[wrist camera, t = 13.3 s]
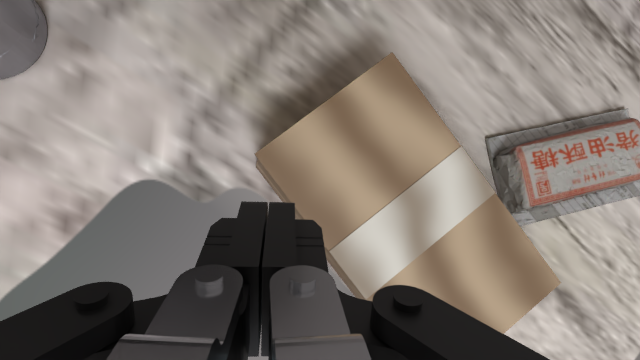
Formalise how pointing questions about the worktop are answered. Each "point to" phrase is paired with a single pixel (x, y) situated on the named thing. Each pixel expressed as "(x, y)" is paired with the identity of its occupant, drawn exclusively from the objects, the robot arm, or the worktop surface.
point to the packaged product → (567, 166)
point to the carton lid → (406, 201)
